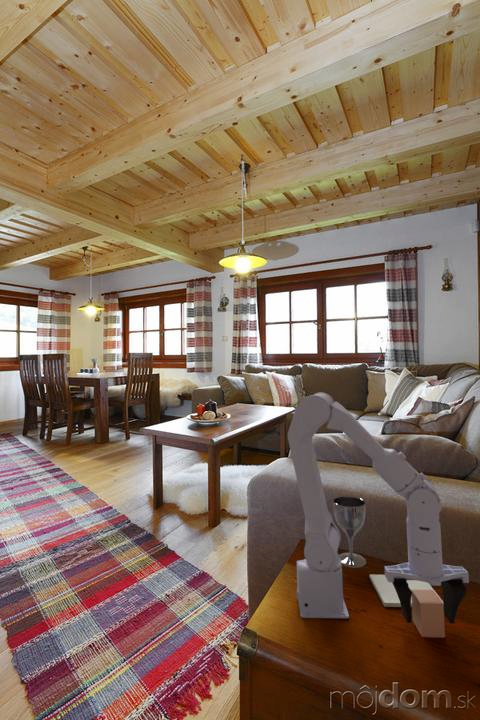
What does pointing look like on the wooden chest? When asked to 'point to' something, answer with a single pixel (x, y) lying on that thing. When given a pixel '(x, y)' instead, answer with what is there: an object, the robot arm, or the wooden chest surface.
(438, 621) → the block
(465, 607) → the wooden chest surface
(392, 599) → the mat
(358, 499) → the wine glass
